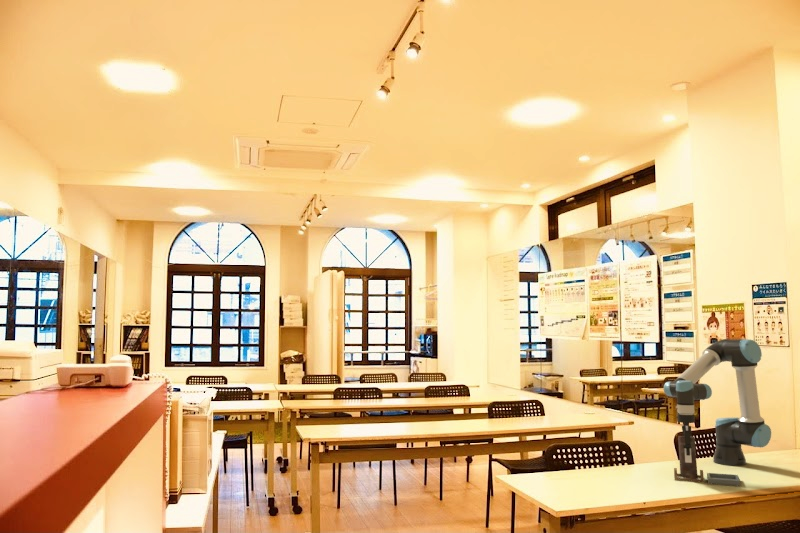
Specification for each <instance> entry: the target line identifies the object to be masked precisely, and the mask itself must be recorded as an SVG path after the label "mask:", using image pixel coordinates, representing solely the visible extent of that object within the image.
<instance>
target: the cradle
mask: <svg viewBox="0 0 800 533" xmlns="http://www.w3.org/2000/svg"><path fill="white" fill-rule="evenodd" d="M677 468H678V467H677ZM677 468H676V467H674V468H673V474H674V481H679V482H683V481H684V482H692V483H693V482H695V483H705V479H704V470H703V469H699V474H697V475H698V479H688V478H683V477H681V475H680V473H678V469H677Z"/></svg>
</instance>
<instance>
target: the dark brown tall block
mask: <svg viewBox="0 0 800 533" xmlns="http://www.w3.org/2000/svg"><path fill="white" fill-rule="evenodd" d="M677 437H678V438H677V441H678V455H679V474H680V475H681V476H680V478H688V479H699V478H698V475H699V474H698V466H697V452H696V451H697V450H696V440H695V439H696V438H695V436H693V435H691V436H690V441H691V459H692V463H687V462H685V448H683V446H685V440H684V435H678V436H677Z"/></svg>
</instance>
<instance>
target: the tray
mask: <svg viewBox="0 0 800 533" xmlns="http://www.w3.org/2000/svg"><path fill="white" fill-rule="evenodd" d="M706 479H707V480H706V481H707V483H708V484H709V485H718V486H719V485H720V486H730V487H740V486H741V487H742V483H741V482H742V481H741V479H740V477H739V475H738V474H731V473H730V474H727V473H718V472H716V473H715V472H706Z"/></svg>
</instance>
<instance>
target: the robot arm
mask: <svg viewBox="0 0 800 533" xmlns="http://www.w3.org/2000/svg"><path fill="white" fill-rule="evenodd" d="M762 357H763V355H762V349H761V347H760V345H759V344H758V342H756V341H755V340H753V339H747V338H724V339H723V338H722V339H720V340H717V341H715V342H713V343H712V344H711V345H709V346H708V347H706V348H705V349H704V350H703V351H702V355H701V356H700V357H699V358H697V359H696V360H695V361H694V362H693V363H692V364H691V365H690V366H688V368H686V369H685V370H684V371H683V372H682V373H681V374H680V375H678V377H677V378H676V379H674V380H673V381H672V380H670V381H666V382H664V385H663V391H664V392H663V393H664V394H665V395H666V396H667V397H670V398H671V397H672V398H676V406H675V409H676V412H677V415H676V417H677V422H678V423H682V425H681V430H682V436H684V440H685V446H683V448H685V462H687V463H692V459H691V441H690V436H692V426H691V425H690V424H694V423H695V422H696V418H695V417H696V416H695V401H700V400H701V401H704V400H708V399H710V398H711V397H712V394H713V390H712V387H710V385H708V384H706V383H697V382H698V381H699V380H700V379H702V378H703V377H704V376H705V375H706V374H707V373H708V372H709V371H710V370H711V369H713V367H714V366H718V365H720V364H721V363H723V362H730V363H731V367H732V368H733V369H734V370H735V375H736V383H737V392H738V399H739V402H738V403H739V409H740V417H721V418H720V417H719V418H716V420H715V424H714V425H715V426H714V428H715V442H716V444H715V445H716V447H715V450H714V453H713V459H712V460H713V462H714V463H716V464H720V465H723V466H724V465H725V466H745V465H747V459H746V457H745V454H744V451H743V449H742V445H744V446H749V447H753V448H765V447H767V445H768V444H769V443H770V441H771V438H772V429H771V427H770V426H769V425H768V424H766V423H765V418H763V417H762V416H761V411H760V404H759V403H760V402H759V394H758V386H757V378H756V377H757V376H756V367H758V363H759V362H760V361H761V360H762Z"/></svg>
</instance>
